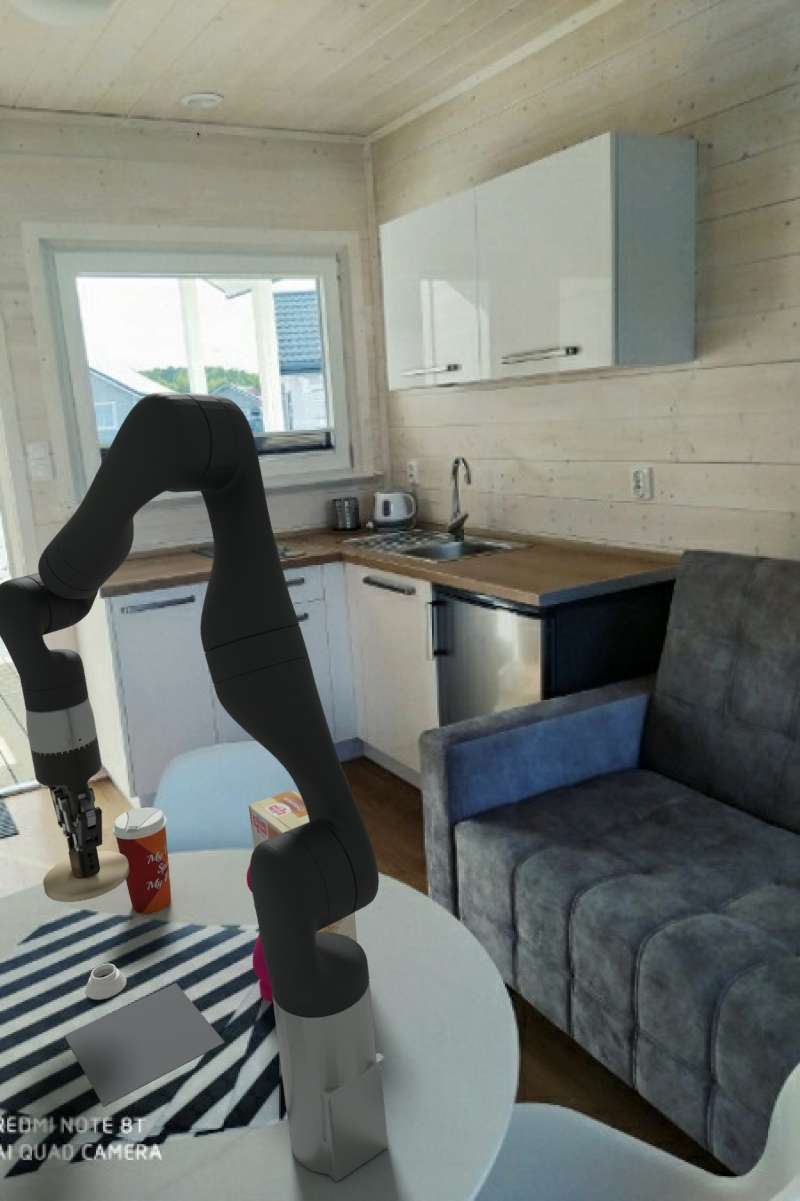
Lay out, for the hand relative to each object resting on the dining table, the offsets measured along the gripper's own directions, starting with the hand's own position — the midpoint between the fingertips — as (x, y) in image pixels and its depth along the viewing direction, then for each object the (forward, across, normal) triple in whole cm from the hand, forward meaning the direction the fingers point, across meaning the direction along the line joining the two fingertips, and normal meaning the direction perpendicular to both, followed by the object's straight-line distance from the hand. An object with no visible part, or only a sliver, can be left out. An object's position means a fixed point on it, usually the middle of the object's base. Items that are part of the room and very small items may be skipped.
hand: (85, 867), depth 109 cm
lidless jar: (+18, 0, 0) cm, 18 cm away
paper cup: (+17, +15, -12) cm, 26 cm away
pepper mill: (+17, -16, -17) cm, 29 cm away
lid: (+2, 0, 0) cm, 2 cm away
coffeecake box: (+17, -11, -24) cm, 31 cm away
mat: (+17, -13, 0) cm, 22 cm away
